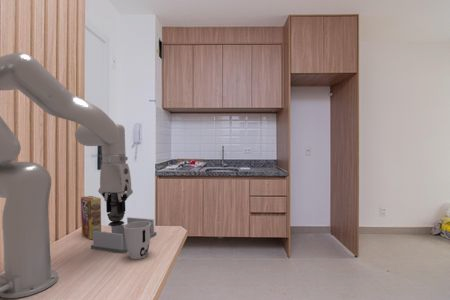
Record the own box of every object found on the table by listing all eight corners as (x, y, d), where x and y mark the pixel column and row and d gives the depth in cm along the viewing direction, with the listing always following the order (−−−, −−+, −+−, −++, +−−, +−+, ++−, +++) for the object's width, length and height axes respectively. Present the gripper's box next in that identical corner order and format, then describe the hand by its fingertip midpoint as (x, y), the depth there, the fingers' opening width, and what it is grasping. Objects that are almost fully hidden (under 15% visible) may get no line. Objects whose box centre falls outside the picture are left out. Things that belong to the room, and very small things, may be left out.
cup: (143, 262, 82) (142, 229, 81) (119, 260, 83) (118, 228, 83) (156, 251, 89) (155, 221, 89) (133, 250, 91) (132, 220, 91)
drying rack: (124, 253, 89) (123, 235, 89) (91, 248, 93) (90, 231, 93) (156, 234, 106) (156, 219, 106) (126, 231, 111) (126, 217, 111)
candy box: (102, 236, 105) (101, 197, 105) (91, 240, 102) (89, 199, 101) (92, 232, 111) (91, 195, 111) (81, 235, 108) (79, 196, 107)
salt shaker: (107, 227, 92) (106, 191, 91) (107, 222, 97) (106, 189, 97) (125, 224, 94) (124, 190, 94) (124, 220, 99) (123, 187, 99)
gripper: (141, 159, 96) (142, 211, 96) (103, 159, 101) (104, 208, 102) (126, 160, 88) (128, 216, 89) (86, 160, 94) (88, 213, 94)
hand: (116, 211), depth 95 cm, fingers closed on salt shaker, 4 cm apart
